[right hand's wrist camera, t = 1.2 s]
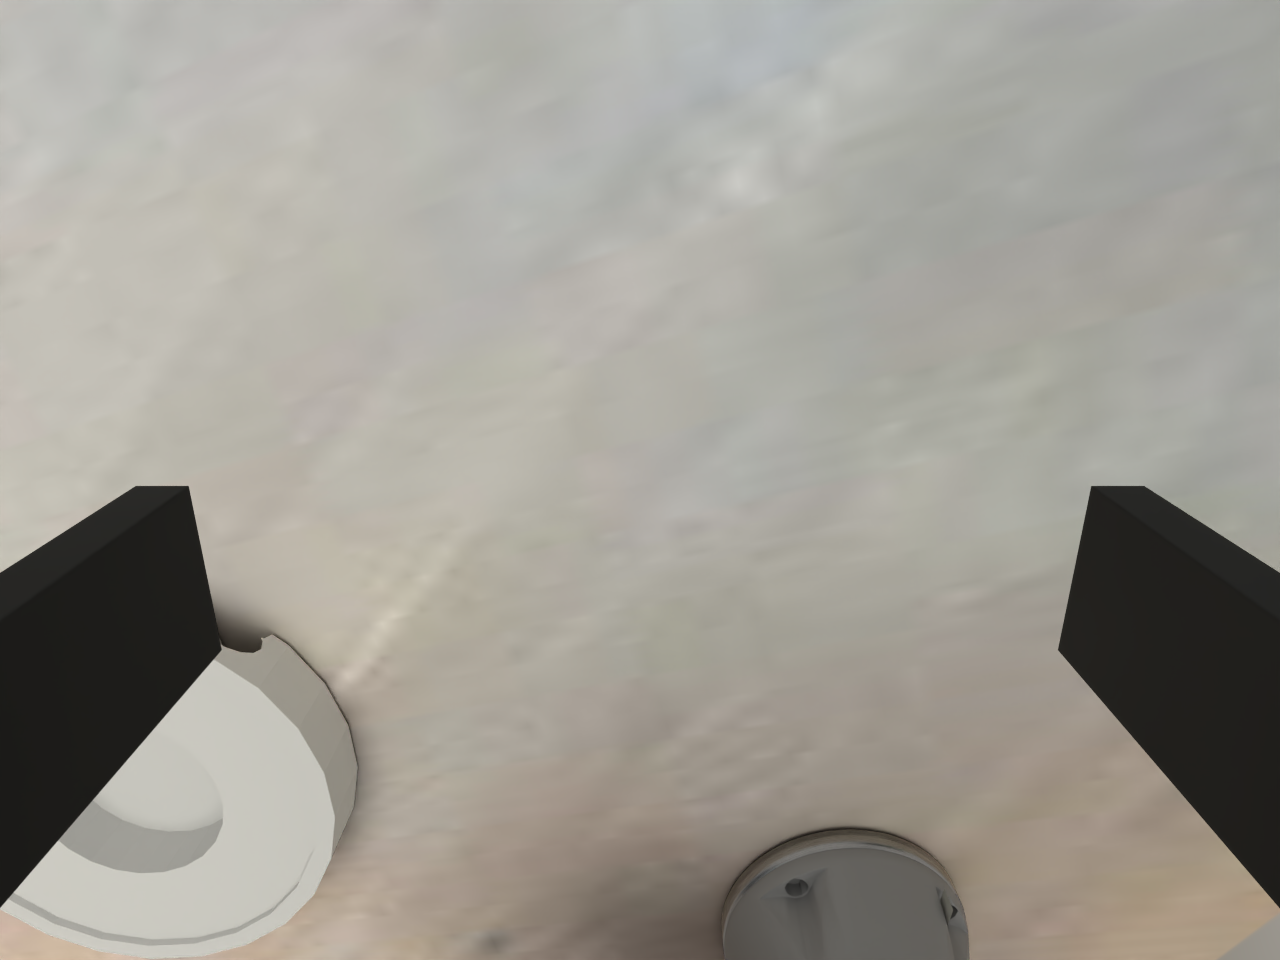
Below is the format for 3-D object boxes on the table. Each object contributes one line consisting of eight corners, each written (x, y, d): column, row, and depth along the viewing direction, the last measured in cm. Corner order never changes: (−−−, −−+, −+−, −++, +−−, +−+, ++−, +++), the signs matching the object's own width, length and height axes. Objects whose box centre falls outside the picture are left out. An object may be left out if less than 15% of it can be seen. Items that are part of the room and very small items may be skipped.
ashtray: (279, 548, 45) (246, 584, 41) (406, 874, 53) (388, 929, 49) (-122, 620, 46) (-189, 662, 42) (62, 926, 54) (20, 983, 51)
